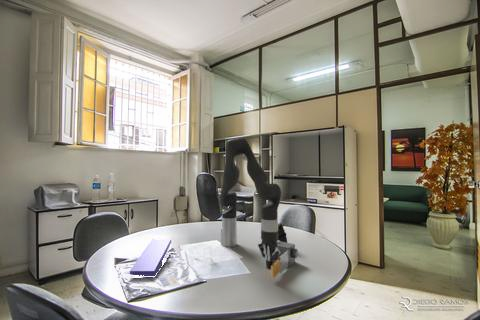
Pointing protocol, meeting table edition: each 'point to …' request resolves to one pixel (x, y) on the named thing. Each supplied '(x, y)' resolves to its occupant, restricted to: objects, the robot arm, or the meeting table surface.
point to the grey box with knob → (283, 247)
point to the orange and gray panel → (280, 264)
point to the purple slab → (151, 258)
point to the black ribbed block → (281, 233)
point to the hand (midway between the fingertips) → (269, 268)
